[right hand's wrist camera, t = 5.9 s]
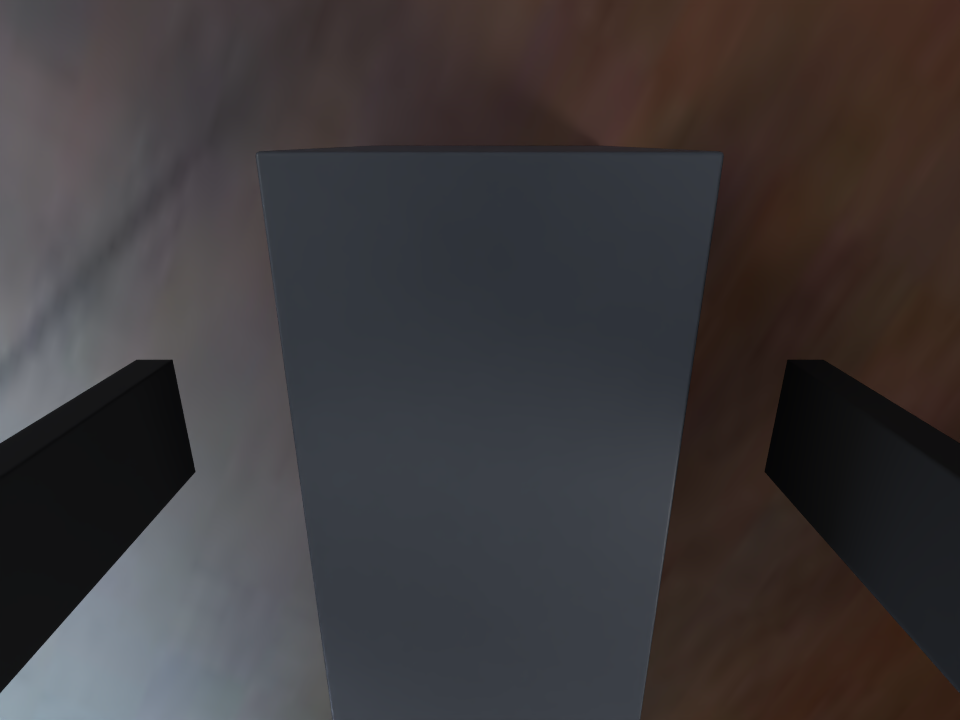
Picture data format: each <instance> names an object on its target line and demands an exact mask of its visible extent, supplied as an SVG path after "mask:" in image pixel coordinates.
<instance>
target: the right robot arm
mask: <svg viewBox="0 0 960 720" xmlns="http://www.w3.org/2000/svg"><path fill="white" fill-rule="evenodd" d="M194 473H195V467H194V462H193V458H192V453H191V448H190V443H189V438H188V433H187V428H186V423H185V419H184V414H183V409H182V404H181V399H180V394H179V389H178V384H177V379H176V375H175V370H174V365H173V360H135V361H134V362H132V363H131V364H129V365H127V366H126V367H124V368H122V369H121V370H119V371H118V372H116V373H114V374H113V375H111V376H109V377H108V378H106V379H105V380H103V381H101V382H100V383H98V384H96V385H95V386H93V387H91V388H90V389H88V390H87V391H85V392H83V393H82V394H80V395H78V396H77V397H75V398H74V399H72V400H70V401H69V402H67V403H65V404H64V405H62V406H60V407H59V408H57V409H56V410H54V411H52V412H51V413H49V414H47V415H46V416H44V417H43V418H41V419H39V420H38V421H36V422H34V423H33V424H31V425H29V426H28V427H26V428H25V429H23V430H21V431H20V432H18V433H16V434H15V435H13V436H12V437H10V438H8V439H7V440H5V441H3V442H2V443H0V693H1V692H2V690H3V689H4V688H5V687H6V686H7V685H8V684H9V683H10V681H11V680H12V679H13V678H14V677H15V676H16V675H17V673H18V672H19V671H20V670H21V669H22V668H23V667H24V666H25V664H26V663H27V662H28V661H29V660H30V659H31V658H32V656H33V655H34V654H35V653H36V652H37V651H38V650H39V649H40V647H41V646H42V645H43V644H44V643H45V642H46V641H47V639H48V638H49V637H50V636H51V635H52V634H53V633H54V632H55V630H56V629H57V628H58V627H59V626H60V625H61V624H62V622H63V621H64V620H65V619H66V618H67V617H68V616H69V615H70V613H71V612H72V611H73V610H74V609H75V608H76V607H77V605H78V604H79V603H80V602H81V601H82V600H83V599H84V598H85V596H86V595H87V594H88V593H89V592H90V591H91V590H92V588H93V587H94V586H95V585H96V584H97V583H98V582H99V581H100V579H101V578H102V577H103V576H104V575H105V574H106V573H107V571H108V570H109V569H110V568H111V567H112V566H113V565H114V564H115V562H116V561H117V560H118V559H119V558H120V557H121V556H122V554H123V553H124V552H125V551H126V550H127V549H128V548H129V547H130V545H131V544H132V543H133V542H134V541H135V540H136V539H137V537H138V536H139V535H140V534H141V533H142V532H143V531H144V530H145V528H146V527H147V526H148V525H149V524H150V523H151V522H152V520H153V519H154V518H155V517H156V516H157V515H158V514H159V513H160V511H161V510H162V509H163V508H164V507H165V506H166V505H167V503H168V502H169V501H170V500H171V499H172V498H173V497H174V496H175V494H176V493H177V492H178V491H179V490H180V489H181V488H182V486H183V485H184V484H185V483H186V482H187V481H188V480H189V479H190V477H191V476H192V475H193V474H194ZM765 473H766V474H767V475H768V476H769V477H770V479H771V480H772V481H773V482H774V483H775V484H776V485H777V486H778V488H779V489H780V490H781V491H782V492H783V493H784V494H785V496H786V497H787V498H788V499H789V500H790V501H791V502H792V503H793V505H794V506H795V507H796V508H797V509H798V510H799V511H800V513H801V514H802V515H803V516H804V517H805V518H806V519H807V520H808V522H809V523H810V524H811V525H812V526H813V527H814V528H815V530H816V531H817V532H818V533H819V534H820V535H821V536H822V537H823V539H824V540H825V541H826V542H827V543H828V544H829V545H830V547H831V548H832V549H833V550H834V551H835V552H836V553H837V554H838V556H839V557H840V558H841V559H842V560H843V561H844V562H845V564H846V565H847V566H848V567H849V568H850V569H851V570H852V571H853V573H854V574H855V575H856V576H857V577H858V578H859V579H860V581H861V582H862V583H863V584H864V585H865V586H866V587H867V588H868V590H869V591H870V592H871V593H872V594H873V595H874V596H875V598H876V599H877V600H878V601H879V602H880V603H881V604H882V605H883V607H884V608H885V609H886V610H887V611H888V612H889V613H890V615H891V616H892V617H893V618H894V619H895V620H896V621H897V622H898V624H899V625H900V626H901V627H902V628H903V629H904V630H905V632H906V633H907V634H908V635H909V636H910V637H911V638H912V639H913V641H914V642H915V643H916V644H917V645H918V646H919V647H920V649H921V650H922V651H923V652H924V653H925V654H926V655H927V656H928V658H929V659H930V660H931V661H932V662H933V663H934V664H935V666H936V667H937V668H938V669H939V670H940V671H941V672H942V673H943V675H944V676H945V677H946V678H947V679H948V680H949V681H950V683H951V684H952V685H953V686H954V687H955V688H956V689H957V690H958V692H959V693H960V443H958V442H957V441H955V440H953V439H952V438H950V437H948V436H947V435H945V434H944V433H942V432H940V431H939V430H937V429H935V428H934V427H932V426H931V425H929V424H927V423H926V422H924V421H922V420H921V419H919V418H917V417H916V416H914V415H913V414H911V413H909V412H908V411H906V410H904V409H903V408H901V407H900V406H898V405H896V404H895V403H893V402H891V401H890V400H888V399H886V398H885V397H883V396H882V395H880V394H878V393H877V392H875V391H873V390H872V389H870V388H869V387H867V386H865V385H864V384H862V383H860V382H859V381H857V380H855V379H854V378H852V377H851V376H849V375H847V374H846V373H844V372H842V371H841V370H839V369H838V368H836V367H834V366H833V365H831V364H829V363H828V362H826V361H825V360H787V365H786V370H785V375H784V379H783V384H782V389H781V394H780V399H779V404H778V409H777V414H776V419H775V423H774V428H773V433H772V438H771V443H770V448H769V453H768V458H767V462H766V467H765Z"/></svg>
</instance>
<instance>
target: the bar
mask: <svg viewBox="0 0 960 720" xmlns="http://www.w3.org/2000/svg"><path fill="white" fill-rule="evenodd" d="M723 157H724V156H723V153H722V152H719V151H699V150H678V149H657V148H636V147H616V146H357V147H337V148H317V149H297V150H277V151H259V152H257V153H256V162H257V169H258V177H259V184H260V191H261V199H262V206H263V213H264V221H265V228H266V235H267V243H268V250H269V257H270V264H271V272H272V279H273V286H274V294H275V301H276V308H277V316H278V323H279V330H280V338H281V345H282V352H283V360H284V367H285V374H286V382H287V389H288V396H289V404H290V411H291V418H292V426H293V433H294V440H295V448H296V455H297V462H298V470H299V477H300V484H301V492H302V499H303V506H304V514H305V521H306V528H307V536H308V543H309V550H310V558H311V565H312V572H313V580H314V587H315V594H316V602H317V609H318V616H319V624H320V631H321V638H322V646H323V653H324V660H325V668H326V675H327V682H328V690H329V697H330V704H331V712H332V719H333V720H640V716H641V710H642V703H643V696H644V689H645V683H646V676H647V669H648V662H649V656H650V649H651V642H652V635H653V629H654V622H655V615H656V609H657V602H658V595H659V588H660V582H661V575H662V568H663V561H664V555H665V548H666V541H667V534H668V528H669V521H670V514H671V507H672V501H673V494H674V487H675V481H676V474H677V467H678V460H679V454H680V447H681V440H682V433H683V427H684V420H685V413H686V406H687V400H688V393H689V386H690V379H691V373H692V366H693V359H694V353H695V346H696V339H697V332H698V326H699V319H700V312H701V305H702V299H703V292H704V285H705V278H706V272H707V265H708V258H709V251H710V245H711V238H712V231H713V225H714V218H715V211H716V204H717V198H718V191H719V184H720V177H721V171H722V164H723Z"/></svg>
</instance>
